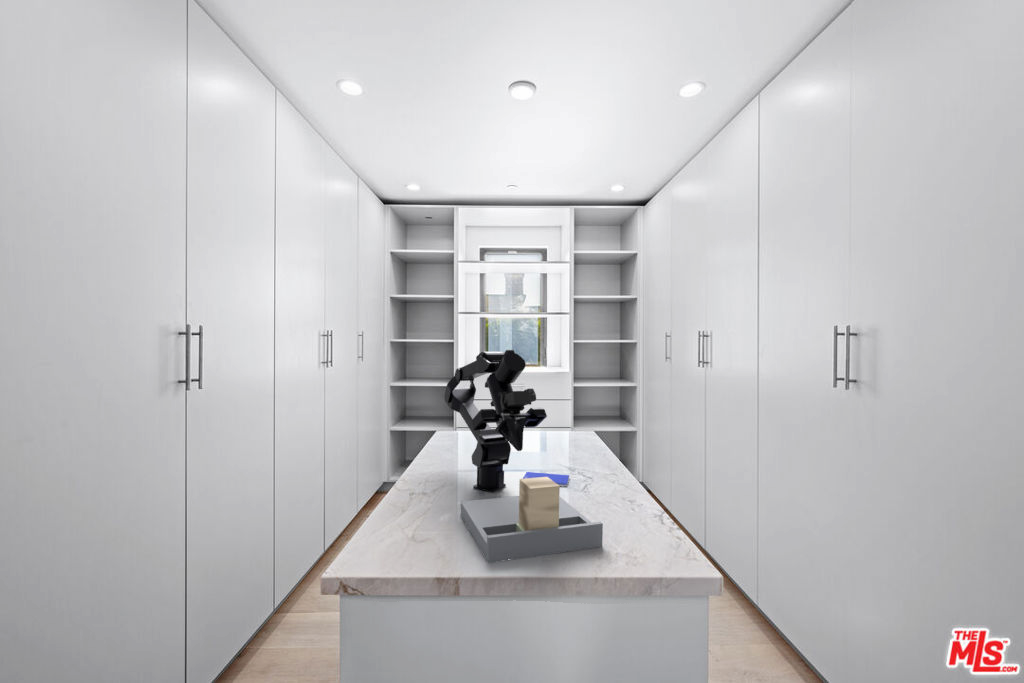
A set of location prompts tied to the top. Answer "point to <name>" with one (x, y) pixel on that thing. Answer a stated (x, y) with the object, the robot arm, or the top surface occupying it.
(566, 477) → the hard drive
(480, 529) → the board
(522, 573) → the top surface
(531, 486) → the maple block
